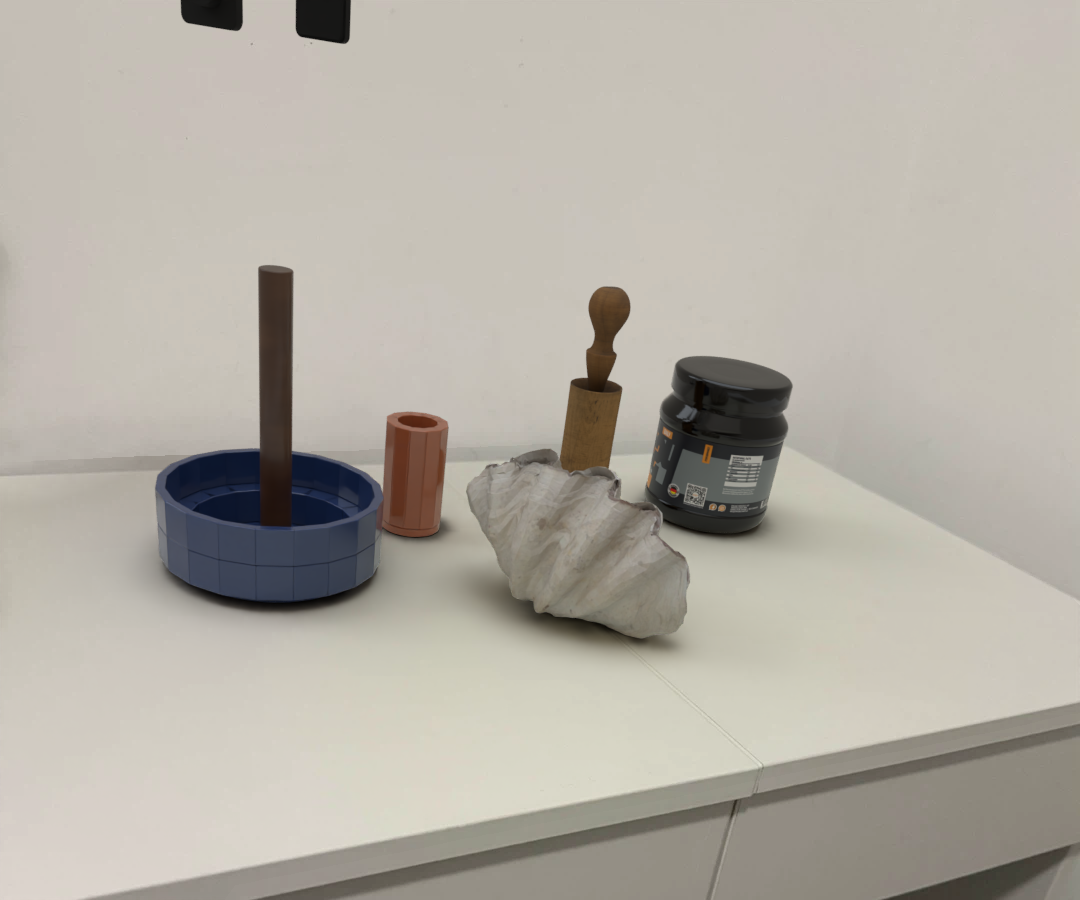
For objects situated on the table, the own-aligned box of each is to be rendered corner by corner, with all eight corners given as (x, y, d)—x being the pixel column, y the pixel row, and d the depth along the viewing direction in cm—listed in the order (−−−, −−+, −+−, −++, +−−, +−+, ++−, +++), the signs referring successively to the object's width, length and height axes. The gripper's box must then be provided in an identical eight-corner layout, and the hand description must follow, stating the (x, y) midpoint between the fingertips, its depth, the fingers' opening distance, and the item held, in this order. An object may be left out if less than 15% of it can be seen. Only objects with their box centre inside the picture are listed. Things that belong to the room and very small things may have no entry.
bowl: (112, 570, 68) (105, 488, 65) (247, 506, 79) (246, 434, 76) (303, 634, 64) (304, 550, 61) (415, 557, 75) (421, 483, 72)
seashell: (557, 556, 79) (577, 424, 74) (693, 646, 69) (727, 502, 64) (440, 576, 73) (453, 435, 68) (571, 678, 64) (597, 523, 58)
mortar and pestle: (524, 528, 82) (557, 285, 73) (544, 502, 88) (576, 272, 78) (607, 547, 82) (651, 303, 72) (621, 519, 87) (664, 288, 77)
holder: (369, 526, 79) (375, 420, 75) (398, 509, 82) (405, 407, 78) (422, 542, 78) (430, 435, 74) (449, 524, 81) (458, 421, 77)
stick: (254, 554, 70) (250, 266, 61) (272, 545, 72) (271, 263, 62) (280, 562, 70) (280, 273, 60) (297, 553, 72) (300, 270, 62)
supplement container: (678, 481, 97) (706, 347, 90) (782, 518, 92) (820, 379, 86) (618, 507, 89) (645, 363, 83) (729, 549, 85) (766, 399, 78)
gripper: (307, -359, 54) (302, 35, 63) (53, -527, 40) (94, 9, 49) (437, -352, 52) (413, 54, 61) (217, -526, 38) (228, 32, 47)
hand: (271, 34), depth 55 cm, fingers open, 9 cm apart
